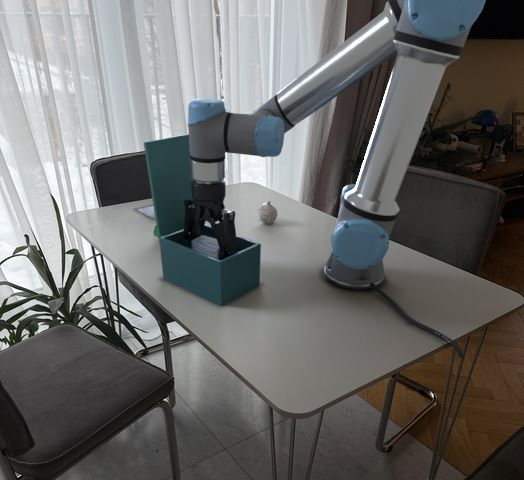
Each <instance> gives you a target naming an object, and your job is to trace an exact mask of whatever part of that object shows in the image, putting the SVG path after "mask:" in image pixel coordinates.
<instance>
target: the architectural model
mask: <svg viewBox="0 0 524 480" xmlns="http://www.w3.org/2000/svg"><path fill="white" fill-rule="evenodd" d="M151 202H152V203H153V200H151ZM136 211H138V212H139V213H141V214H144V215H145V216H147V217H149V218H151V219H153V220H156V219H155V213H154V206H153V205H151V206H145V207H142V208H137V209H136Z"/></svg>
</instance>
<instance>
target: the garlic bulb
mask: <svg viewBox="0 0 524 480" xmlns="http://www.w3.org/2000/svg"><path fill="white" fill-rule="evenodd" d="M257 215H258V218H259V220H260V221H261V222H262V223H265V224H268V225H269V224H273V223H274V222H275V221H276V220H277V218H278V209H277V208H276V207H275V205H274V204H272V203H271V200H269V201H268V202H264V203H262V204H261V205H260V206H259V208H258V211H257Z"/></svg>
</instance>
